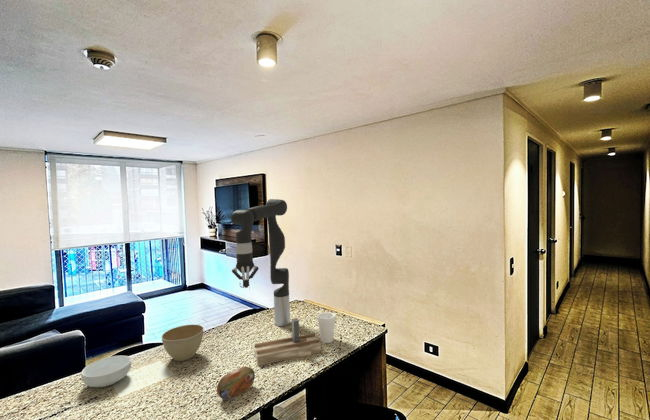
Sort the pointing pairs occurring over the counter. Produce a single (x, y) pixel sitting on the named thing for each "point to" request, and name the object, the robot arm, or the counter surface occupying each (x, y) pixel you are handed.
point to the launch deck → (286, 349)
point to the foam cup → (326, 326)
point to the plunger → (295, 331)
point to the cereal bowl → (106, 371)
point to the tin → (235, 383)
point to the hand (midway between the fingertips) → (246, 287)
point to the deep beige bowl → (182, 341)
